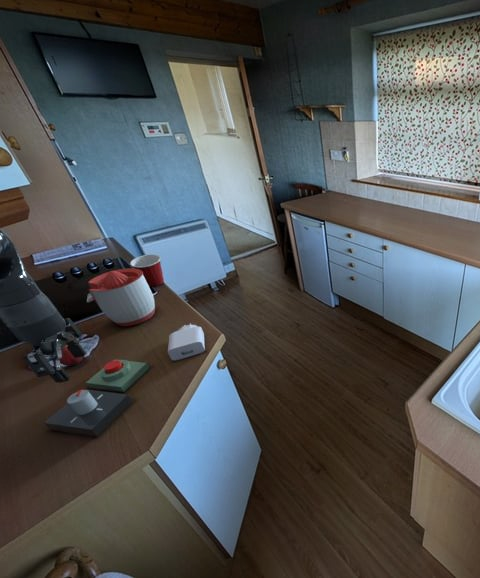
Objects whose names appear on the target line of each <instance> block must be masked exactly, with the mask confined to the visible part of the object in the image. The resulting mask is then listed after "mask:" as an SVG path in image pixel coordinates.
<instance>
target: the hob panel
mask: <svg viewBox="0 0 480 578" xmlns="http://www.w3.org/2000/svg"><path fill="white" fill-rule="evenodd" d="M83 390H88V391H89V393H90V394H91V395H92V396H93V398H94V399H95V400H96V401H97V403H98V404H97V406H96V408H95V409H94V410H92V411H91V412H89V413H87V414H84V415H78V414H77V413H76V412H75V411H74V410H73V408H72V407H71V406H70V405H69V404H68V403H67V402H66V404H65V405H63V406H62V407H61V408H60V409H58V411H56V412H55V413H54V414H52V415H51V416H50V417H49V418H47V419H46V420H45V421H44V422H43V424H44V425H45V426H46V427H47V428H48V429H49V430H50V431H56V432H63V433H68V434H69V433H70V434H76V435H82V436H83V435H84V436H90V437H95V438H98V437H99V436H100V435H102V433H103V432H104V431H105V430H107V428H108V427H109V426H110V425H111V424H112V423H113V422H114V421H115V420H117V418H118V417H119V416H120V415H121V414H122V413H123V412H124V411H125V410H126V409H127V408H128V407H129V406H130V405H131V404H132V403H133V400H132V398H130V396H129V395H128V394H126V393H118V392H117V393H116V392H111V391H110V392H109V391H102V390H101V391H100V390H93V389H83Z"/></svg>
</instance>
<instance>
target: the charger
mask: <svg viewBox="0 0 480 578" xmlns="http://www.w3.org/2000/svg"><path fill="white" fill-rule="evenodd" d="M167 345H168V346H167V354H168V356H169V358H170V360H171V361H179V360H182V359H186V358H189V357H192V356H195V355H199V354H202V353H204V352H205V350H206V347H205V333H204V331H203V328H202V327H201V326H197V324H192V323H188V325H186V324H184V325H183V326H181V327H180V328H179V329H177V330H176V331H174V332H171V333H170V334H169V336H168V344H167Z"/></svg>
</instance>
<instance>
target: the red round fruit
mask: <svg viewBox="0 0 480 578" xmlns="http://www.w3.org/2000/svg"><path fill="white" fill-rule="evenodd" d="M67 346H68V345H67ZM67 346H65V347H64V348H63V350H62V352H61V353H62V359H60V365H63V366H75V365H79V364H80V362H81V361H83V359H84V357H85V356H83V357H78V358H75V357H74V356H73V355H72V354H71V353H70V351H69V350H68V349H67Z"/></svg>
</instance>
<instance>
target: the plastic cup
mask: <svg viewBox="0 0 480 578" xmlns="http://www.w3.org/2000/svg"><path fill="white" fill-rule="evenodd" d="M161 258H162V257H161V255H159V254H151V253H149V254H144V255H140V256H137V257H135V258H133V259H132V260H131V261H130V262H129V265H130V266H131V267H132V268H135V269H140V270H141V271H142V272H143V276H144V278H145V280H146V282H147V284H148V286H149V287H158V286H161V285H162V284H164V282H165V281H164V274H163V270H162V265H161V264H162V263H161Z"/></svg>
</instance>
